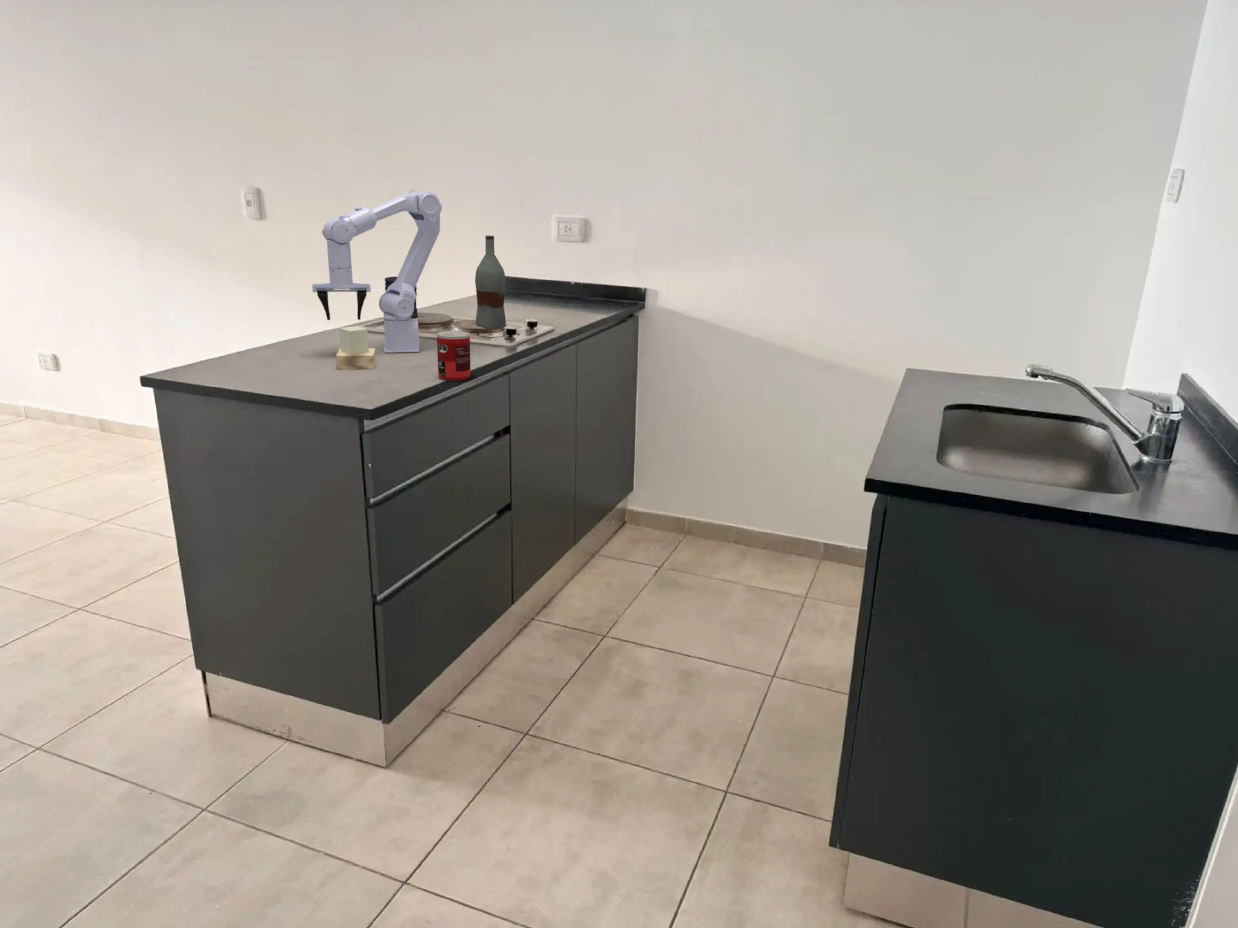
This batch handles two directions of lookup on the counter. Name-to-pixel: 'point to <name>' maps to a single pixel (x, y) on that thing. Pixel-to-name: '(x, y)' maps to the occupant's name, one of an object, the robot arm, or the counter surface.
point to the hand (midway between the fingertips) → (344, 319)
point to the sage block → (354, 340)
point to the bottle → (490, 290)
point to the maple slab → (356, 360)
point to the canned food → (453, 355)
